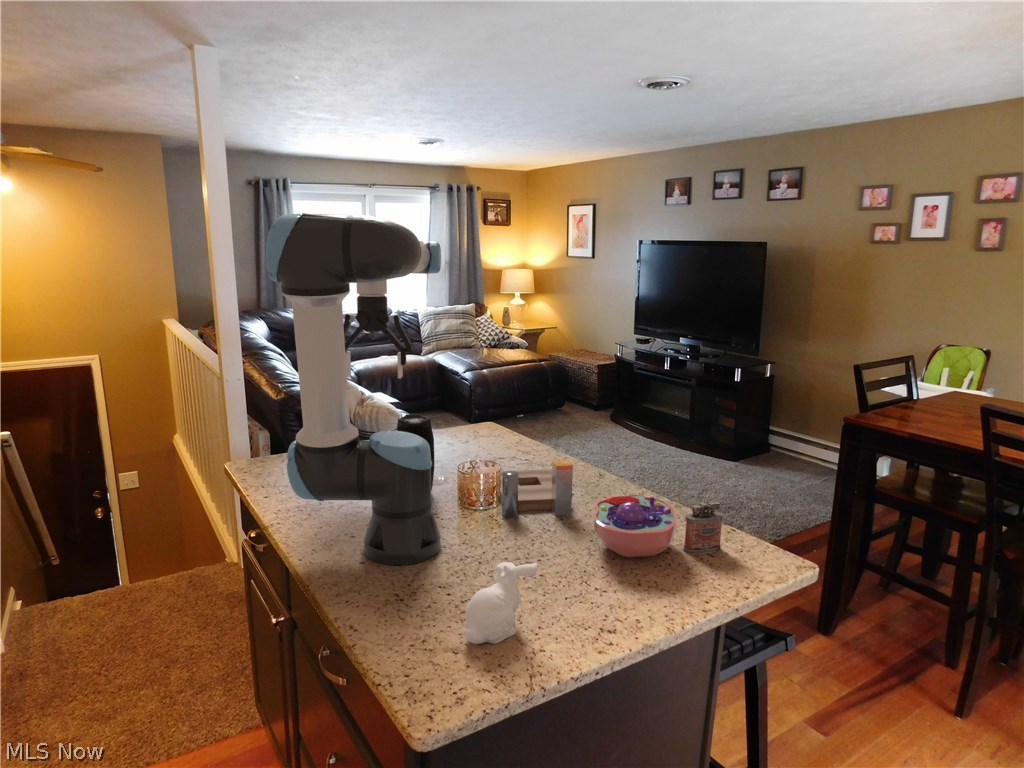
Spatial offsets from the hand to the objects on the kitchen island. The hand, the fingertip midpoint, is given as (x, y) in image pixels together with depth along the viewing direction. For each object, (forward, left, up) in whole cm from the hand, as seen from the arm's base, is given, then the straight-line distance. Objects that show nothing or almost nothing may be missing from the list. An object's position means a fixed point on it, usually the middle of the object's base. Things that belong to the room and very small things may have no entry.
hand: (374, 377), depth 163 cm
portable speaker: (-18, -10, -26) cm, 33 cm away
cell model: (-53, -53, -26) cm, 79 cm away
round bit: (-33, -31, -26) cm, 52 cm away
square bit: (-33, -43, -26) cm, 60 cm away
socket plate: (-21, -38, -26) cm, 50 cm away
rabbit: (-76, -22, -26) cm, 83 cm away
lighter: (-55, -67, -26) cm, 90 cm away
